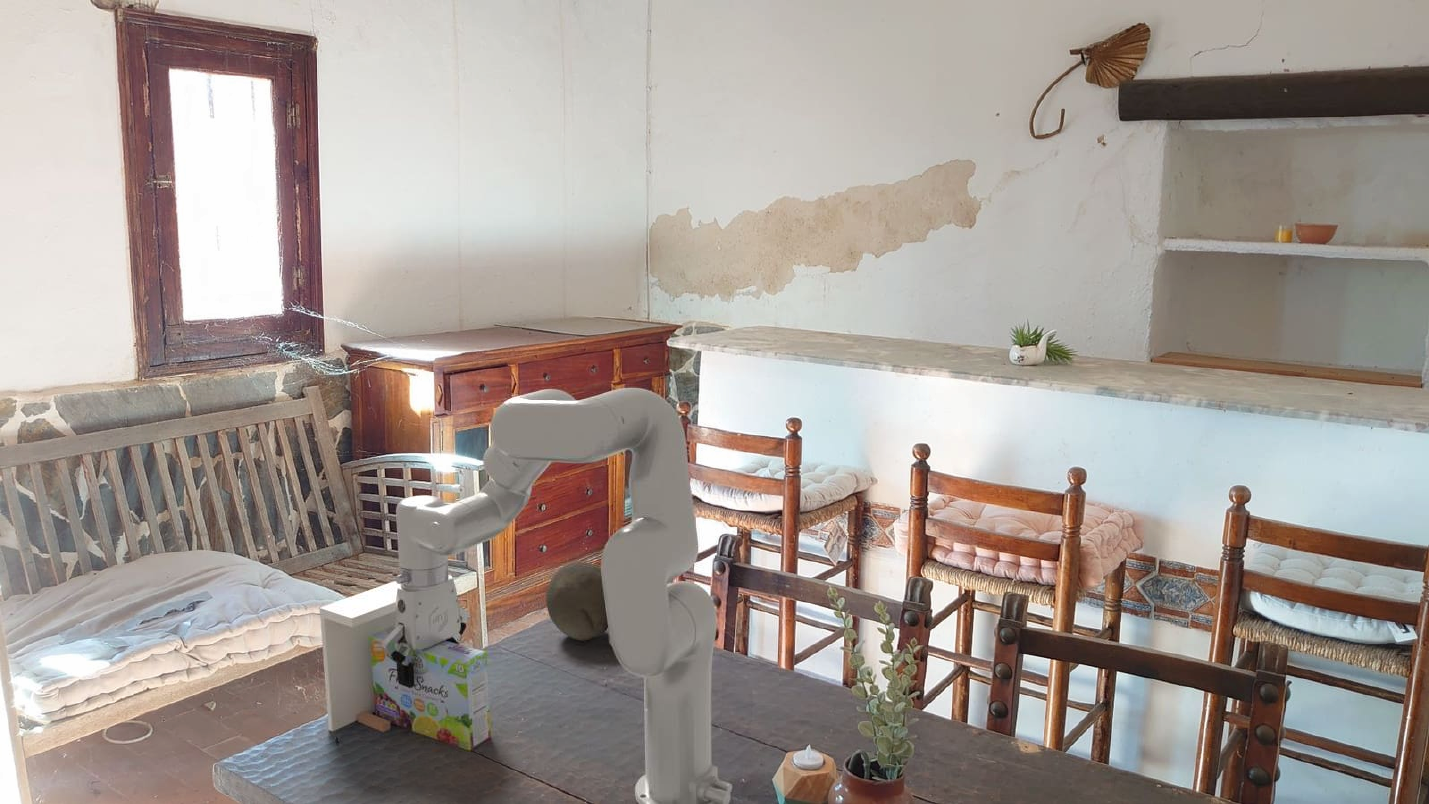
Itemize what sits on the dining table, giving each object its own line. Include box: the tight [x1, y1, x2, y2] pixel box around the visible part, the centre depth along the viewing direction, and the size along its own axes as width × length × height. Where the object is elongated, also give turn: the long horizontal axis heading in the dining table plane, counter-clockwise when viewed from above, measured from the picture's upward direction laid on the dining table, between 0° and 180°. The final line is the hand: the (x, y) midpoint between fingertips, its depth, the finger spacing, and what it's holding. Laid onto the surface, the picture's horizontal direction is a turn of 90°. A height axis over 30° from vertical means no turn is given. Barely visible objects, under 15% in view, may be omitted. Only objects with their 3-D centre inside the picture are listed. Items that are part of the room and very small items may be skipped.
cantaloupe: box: [545, 562, 608, 642], centre depth 209 cm, size 14×14×15 cm
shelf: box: [319, 580, 400, 733], centre depth 177 cm, size 8×20×21 cm, turn 146°
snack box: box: [370, 627, 492, 751], centre depth 172 cm, size 21×6×15 cm, turn 61°
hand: (429, 674), depth 172 cm, fingers open, 9 cm apart
